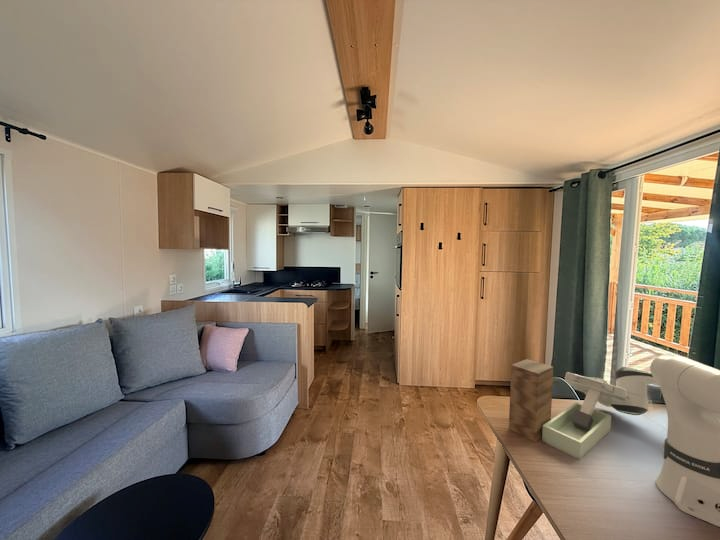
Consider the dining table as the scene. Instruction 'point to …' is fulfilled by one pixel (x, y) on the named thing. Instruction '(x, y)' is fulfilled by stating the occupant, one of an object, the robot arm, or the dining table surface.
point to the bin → (575, 432)
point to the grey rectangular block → (586, 411)
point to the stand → (530, 398)
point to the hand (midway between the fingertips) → (589, 380)
